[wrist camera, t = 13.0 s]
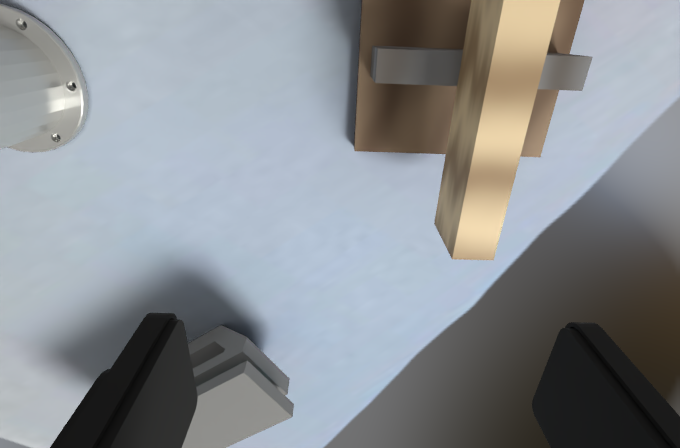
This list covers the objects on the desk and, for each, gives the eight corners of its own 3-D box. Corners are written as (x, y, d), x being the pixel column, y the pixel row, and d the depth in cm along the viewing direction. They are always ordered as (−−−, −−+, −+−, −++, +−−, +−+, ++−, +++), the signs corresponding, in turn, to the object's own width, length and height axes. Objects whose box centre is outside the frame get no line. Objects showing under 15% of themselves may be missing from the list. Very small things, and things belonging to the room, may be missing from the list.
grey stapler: (162, 412, 56) (125, 493, 46) (120, 381, 53) (72, 460, 43) (300, 341, 50) (292, 416, 40) (263, 301, 47) (243, 372, 37)
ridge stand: (354, 146, 38) (357, 168, 32) (364, -49, 31) (370, -67, 25) (533, 152, 38) (567, 174, 33) (585, -39, 31) (641, -55, 25)
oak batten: (498, -165, 23) (548, -223, 18) (551, -162, 23) (616, -219, 18) (434, 223, 35) (452, 259, 29) (469, 224, 35) (493, 260, 29)
